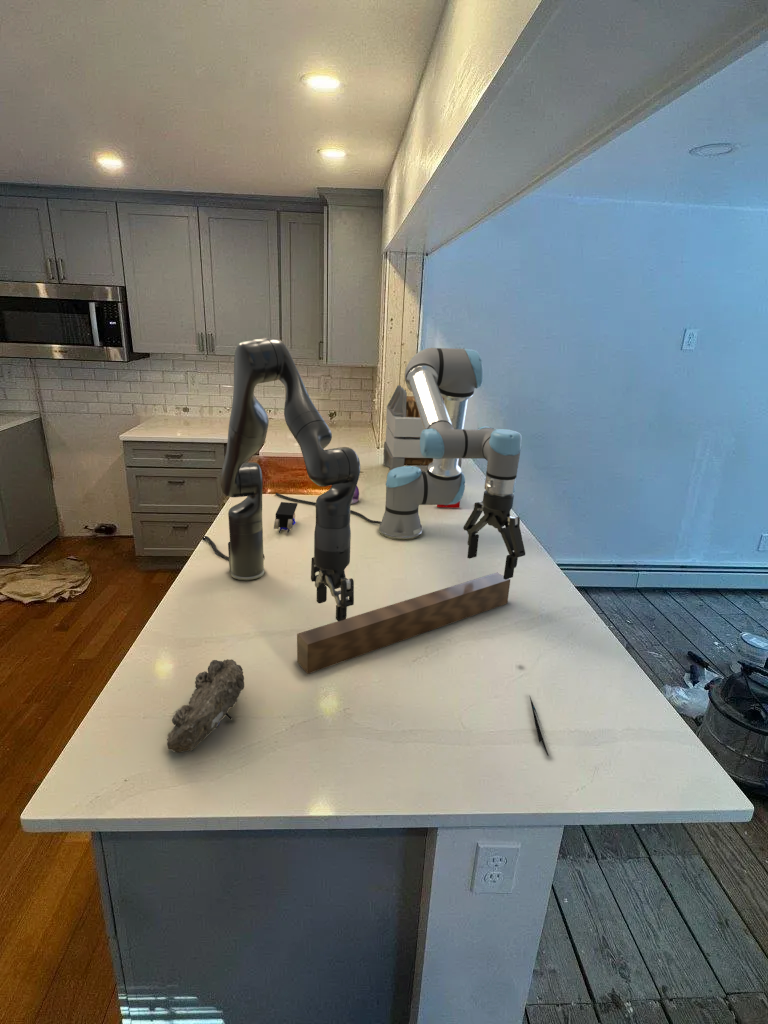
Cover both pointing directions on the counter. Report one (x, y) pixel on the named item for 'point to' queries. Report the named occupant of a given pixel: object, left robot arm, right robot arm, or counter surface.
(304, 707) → the counter surface
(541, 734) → the feather
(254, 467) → the left robot arm
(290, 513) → the figurine character
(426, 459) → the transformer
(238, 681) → the fossil
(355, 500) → the figurine
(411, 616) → the bar
